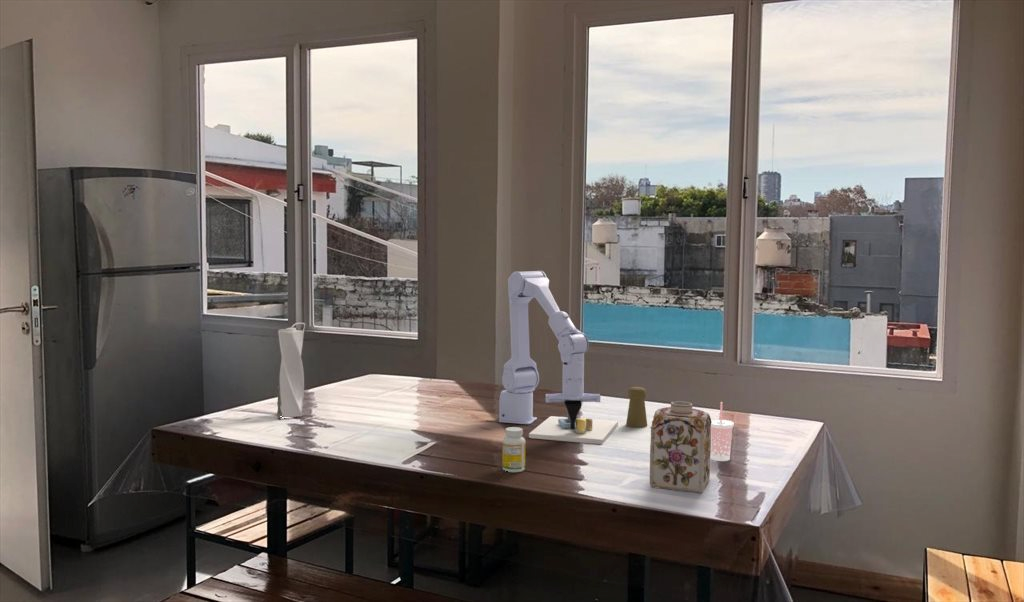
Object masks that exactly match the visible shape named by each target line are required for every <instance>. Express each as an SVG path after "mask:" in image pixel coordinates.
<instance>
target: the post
mask: <svg viewBox="0 0 1024 602" xmlns="http://www.w3.org/2000/svg"><path fill="white" fill-rule="evenodd" d="M578 415H579V413H578V414H577V417H576V419H577V418H579V416H578ZM566 416H567V423H570V416H569V413H568V411H567V415H566ZM575 422H576V420H575Z"/></svg>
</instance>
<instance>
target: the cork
mask: <svg viewBox="0 0 1024 602" xmlns="http://www.w3.org/2000/svg"><path fill="white" fill-rule="evenodd" d="M627 396H628V397H629V403H628V409H627V415H626V424H625V425H626V426H627V427H629V428H636V429H637V428H638V429H640V428H643V429H644V428H646V427H648V420H647V411H646V402H645V398H646V397H647V390H646V388H644V387H642V386H632V387H631V386H630V387H629V389H628V390H627Z"/></svg>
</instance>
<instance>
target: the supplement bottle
mask: <svg viewBox="0 0 1024 602" xmlns="http://www.w3.org/2000/svg"><path fill="white" fill-rule="evenodd" d="M523 430H524V429H523V428H522V427H517V426H511V427H509V426H508V427H506V428H505V430H504V431H505V437H504V438H503V439H502V457H501V458H502V460H501V461H502V464H501V465H502V470H503V471H504V470H505V471H504V472H506V471H508V473H521V472H524V471H525V469H526V438H525V437H523V434H524V431H523Z"/></svg>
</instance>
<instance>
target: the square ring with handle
mask: <svg viewBox="0 0 1024 602" xmlns="http://www.w3.org/2000/svg"><path fill="white" fill-rule="evenodd" d="M586 419H587V418H581V417H578V418H577V419H576V422H575V429H573V430H574V431H575V432H576V433H586ZM558 423H559V424H560V425H561V426H562V427H563V428H570V423H567V418H563V419H558Z"/></svg>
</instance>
